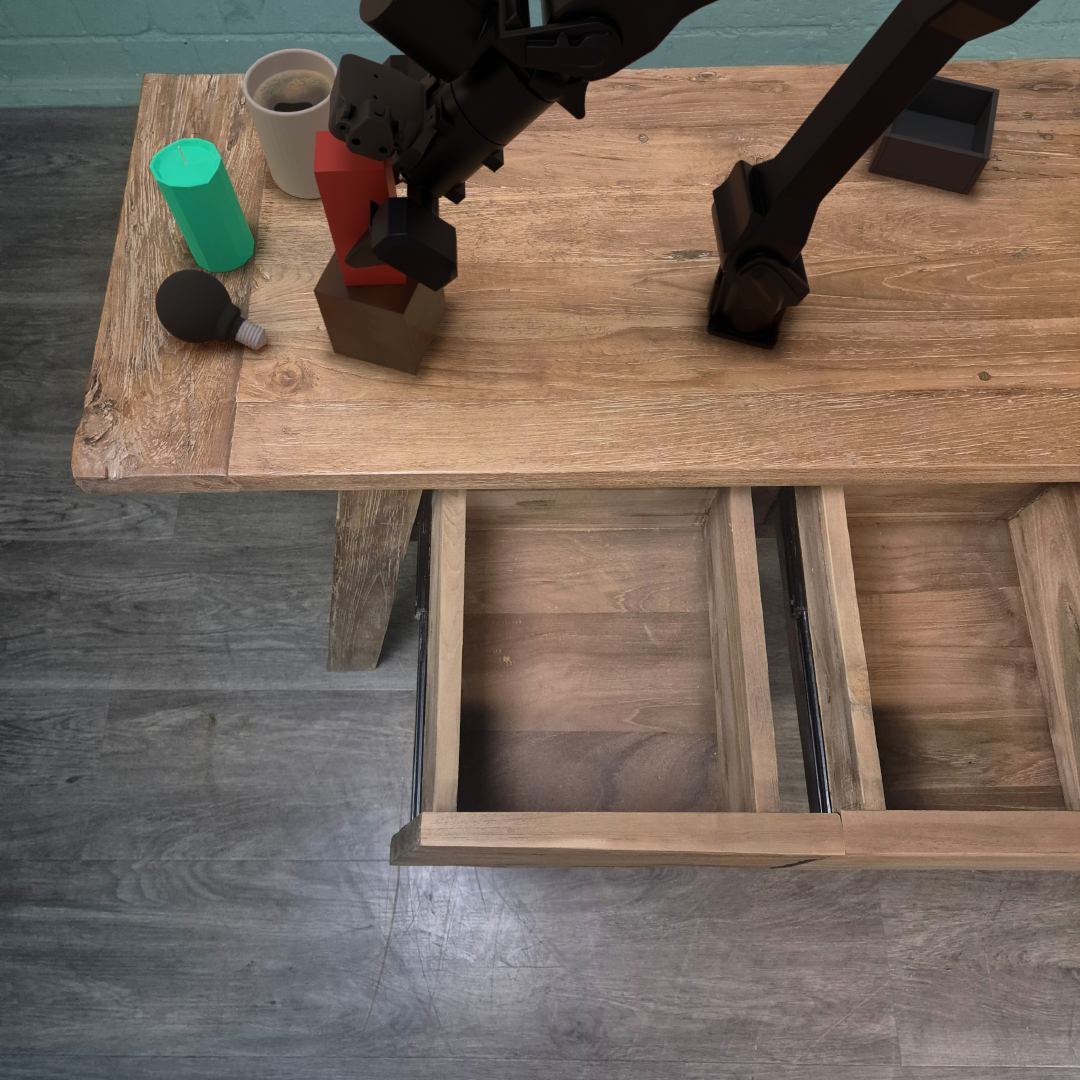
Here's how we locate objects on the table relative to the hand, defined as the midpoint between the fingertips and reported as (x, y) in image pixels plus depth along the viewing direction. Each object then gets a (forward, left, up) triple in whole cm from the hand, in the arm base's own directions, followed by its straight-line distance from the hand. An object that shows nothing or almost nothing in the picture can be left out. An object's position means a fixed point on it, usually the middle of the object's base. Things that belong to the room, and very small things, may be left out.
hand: (350, 231), depth 70 cm
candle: (+18, -5, -13) cm, 22 cm away
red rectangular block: (-1, -1, -4) cm, 4 cm away
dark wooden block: (-1, -1, -13) cm, 13 cm away
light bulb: (+14, +4, -13) cm, 19 cm away
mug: (+13, -18, -13) cm, 25 cm away
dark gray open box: (-45, -40, -13) cm, 61 cm away
